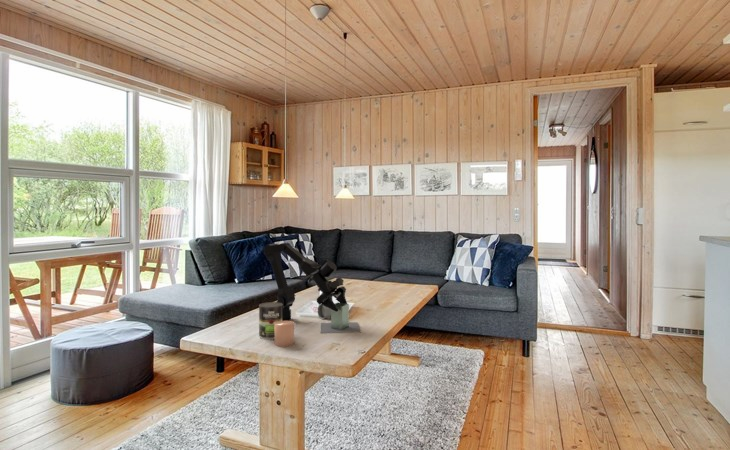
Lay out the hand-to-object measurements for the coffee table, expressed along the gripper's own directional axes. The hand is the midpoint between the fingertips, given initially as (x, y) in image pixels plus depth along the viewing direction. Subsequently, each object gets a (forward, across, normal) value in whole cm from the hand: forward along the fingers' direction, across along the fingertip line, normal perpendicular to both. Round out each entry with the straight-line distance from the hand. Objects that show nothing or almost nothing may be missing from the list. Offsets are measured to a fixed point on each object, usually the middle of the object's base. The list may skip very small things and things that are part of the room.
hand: (342, 308), depth 190 cm
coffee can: (-9, -24, +23) cm, 34 cm away
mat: (+6, 0, +8) cm, 10 cm away
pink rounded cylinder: (-1, -30, +14) cm, 33 cm away
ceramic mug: (-6, +14, +20) cm, 25 cm away
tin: (+5, 0, +7) cm, 9 cm away
